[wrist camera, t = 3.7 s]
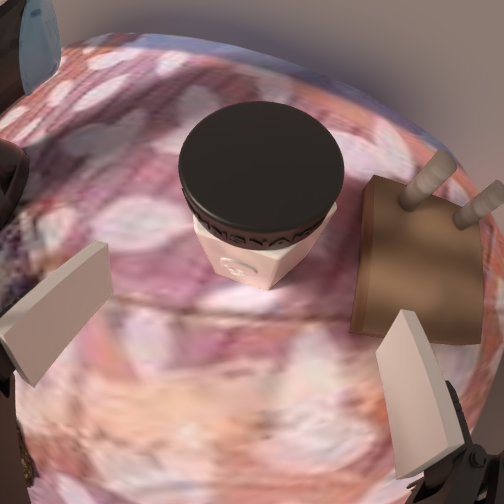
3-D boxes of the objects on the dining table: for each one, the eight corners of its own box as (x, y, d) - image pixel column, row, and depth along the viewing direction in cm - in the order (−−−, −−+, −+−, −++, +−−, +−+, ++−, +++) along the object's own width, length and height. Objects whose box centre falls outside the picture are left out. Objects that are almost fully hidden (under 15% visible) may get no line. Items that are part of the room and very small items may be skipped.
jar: (190, 267, 23) (139, 200, 11) (224, 188, 25) (210, 88, 14) (291, 302, 22) (336, 262, 11) (316, 216, 24) (360, 127, 13)
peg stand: (461, 345, 20) (532, 336, 11) (349, 332, 21) (414, 324, 12) (462, 224, 25) (516, 184, 15) (363, 190, 25) (406, 125, 16)
